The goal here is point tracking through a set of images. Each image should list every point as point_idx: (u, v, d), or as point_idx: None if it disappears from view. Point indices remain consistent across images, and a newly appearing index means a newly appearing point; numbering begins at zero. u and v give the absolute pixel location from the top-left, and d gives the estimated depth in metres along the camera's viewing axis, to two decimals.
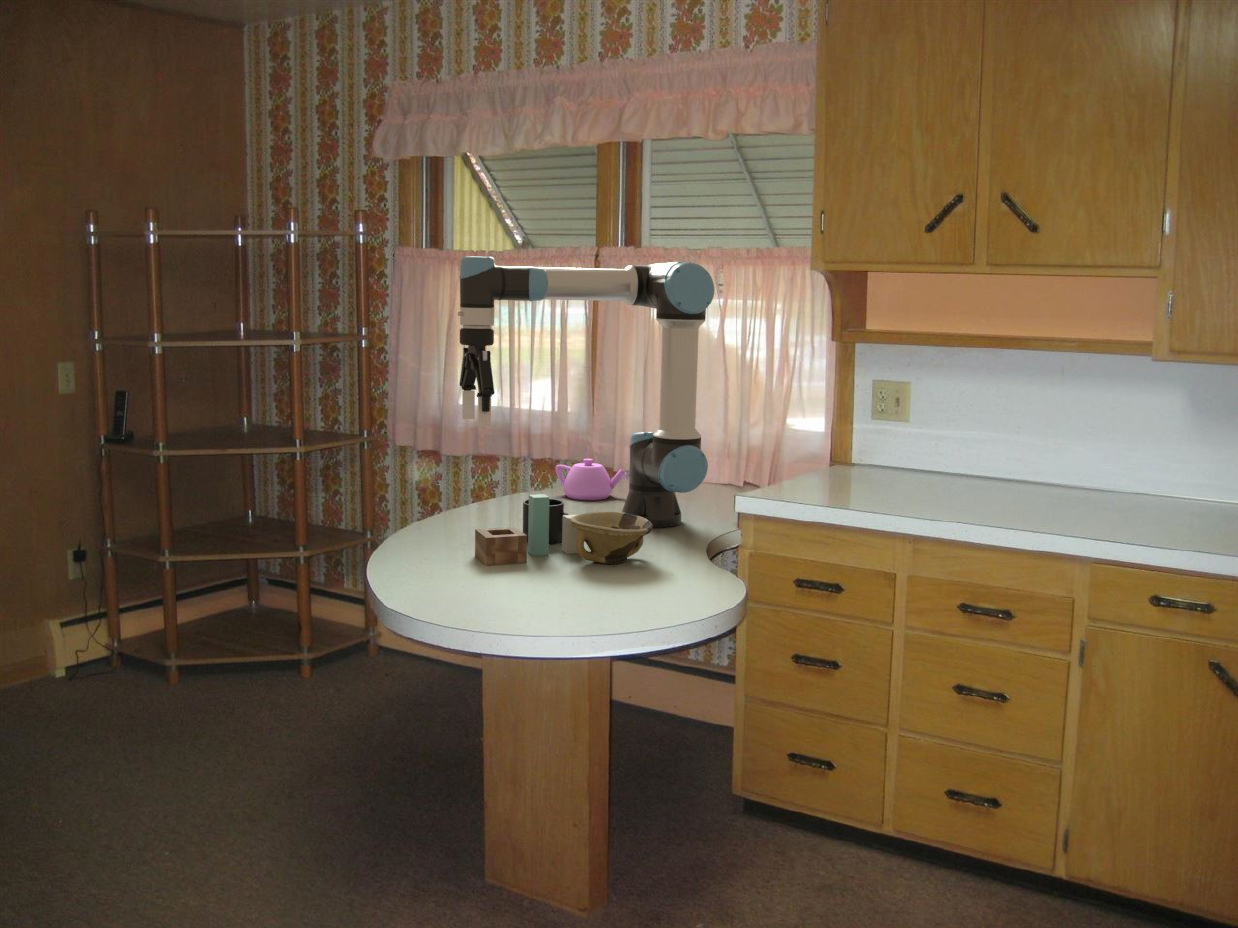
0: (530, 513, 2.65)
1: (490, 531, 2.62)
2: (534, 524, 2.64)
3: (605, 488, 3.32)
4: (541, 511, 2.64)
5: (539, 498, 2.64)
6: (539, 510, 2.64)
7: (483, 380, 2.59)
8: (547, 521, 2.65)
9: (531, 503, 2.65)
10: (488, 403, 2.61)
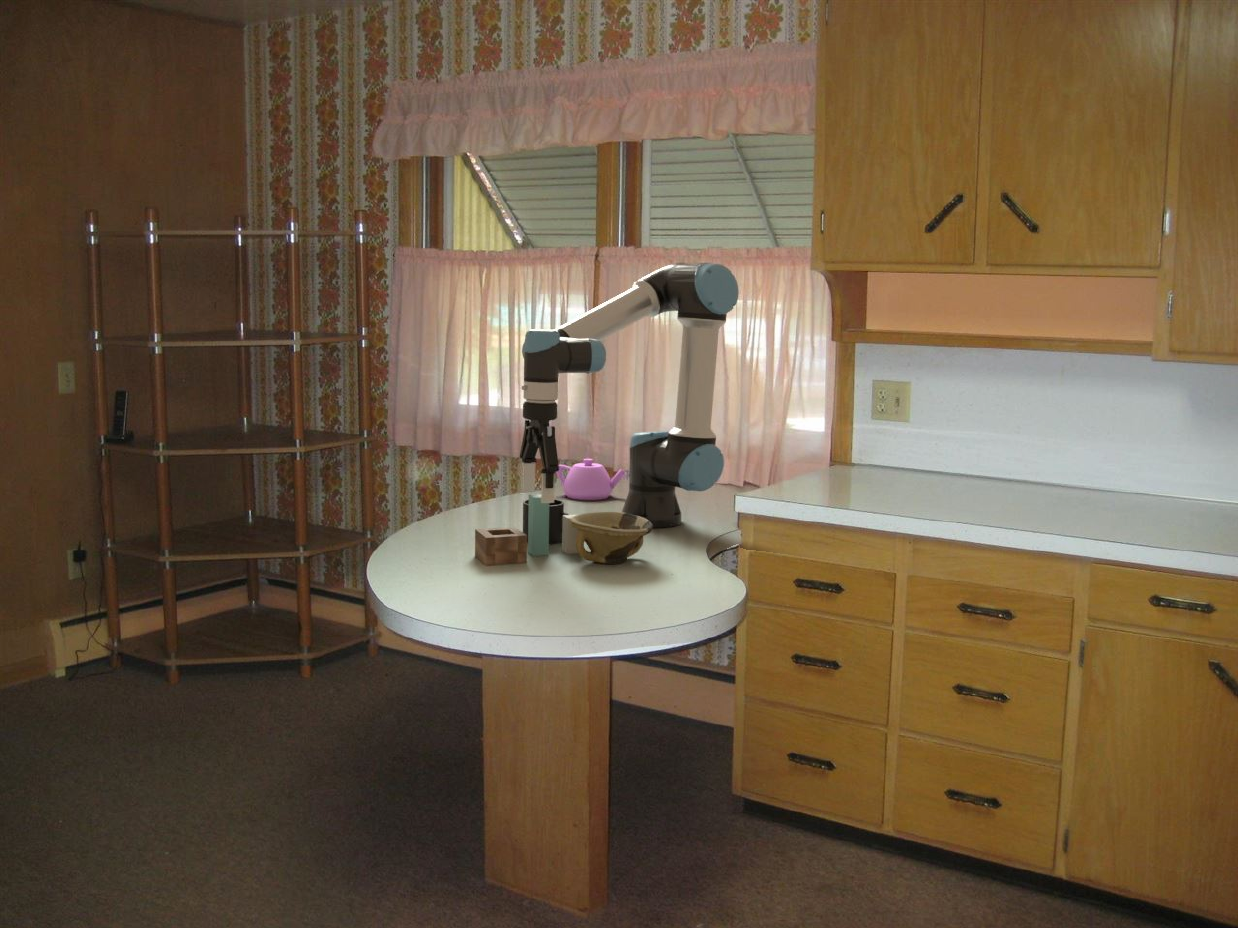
0: (530, 513, 2.65)
1: (490, 531, 2.62)
2: (534, 524, 2.64)
3: (605, 488, 3.32)
4: (541, 511, 2.64)
5: (539, 498, 2.64)
6: (539, 510, 2.64)
7: (548, 456, 2.55)
8: (547, 521, 2.65)
9: (531, 503, 2.65)
10: (552, 479, 2.57)
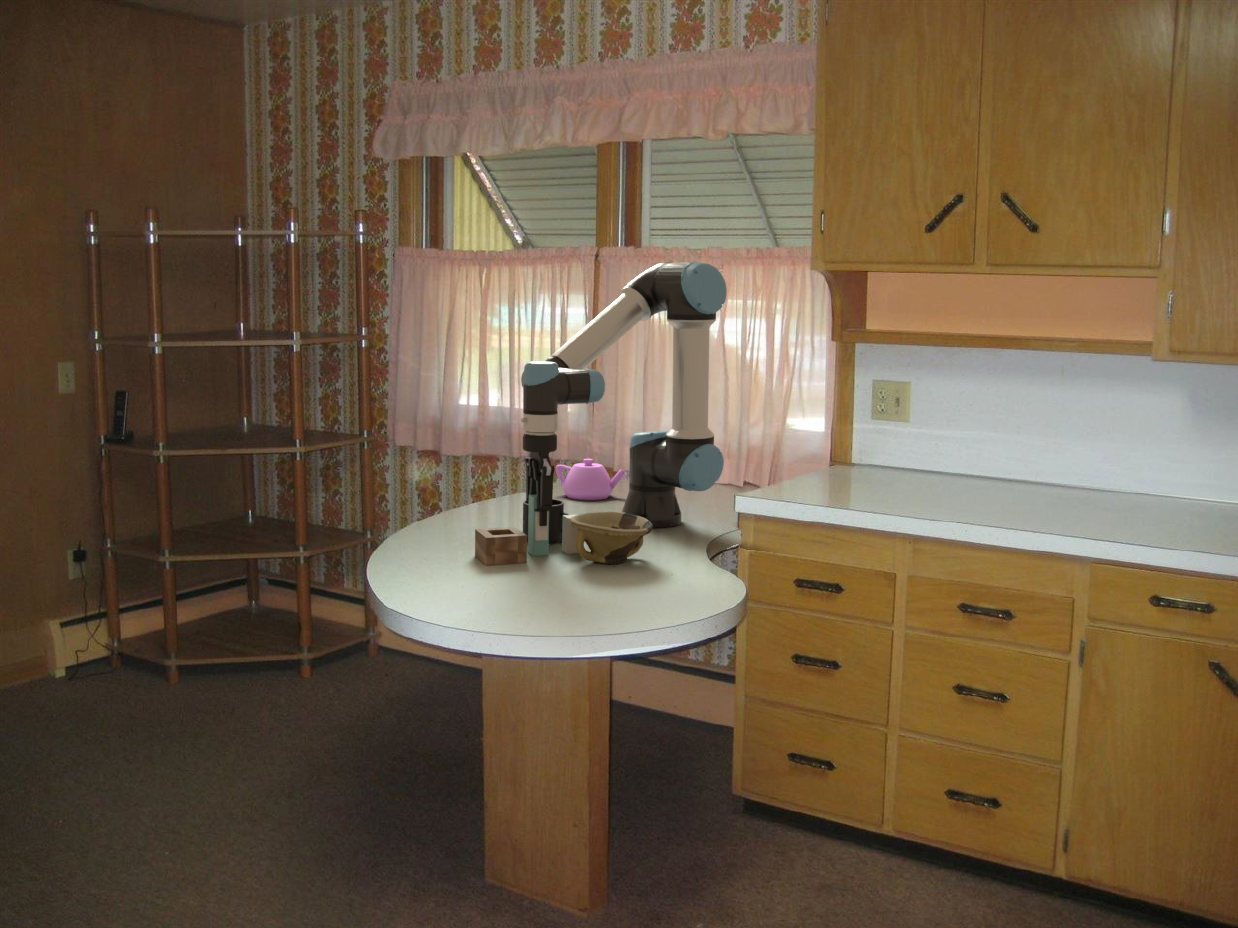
0: (530, 513, 2.65)
1: (490, 531, 2.62)
2: (534, 524, 2.64)
3: (605, 488, 3.32)
4: None
5: None
6: None
7: (543, 497, 2.60)
8: None
9: (531, 503, 2.65)
10: (545, 517, 2.63)
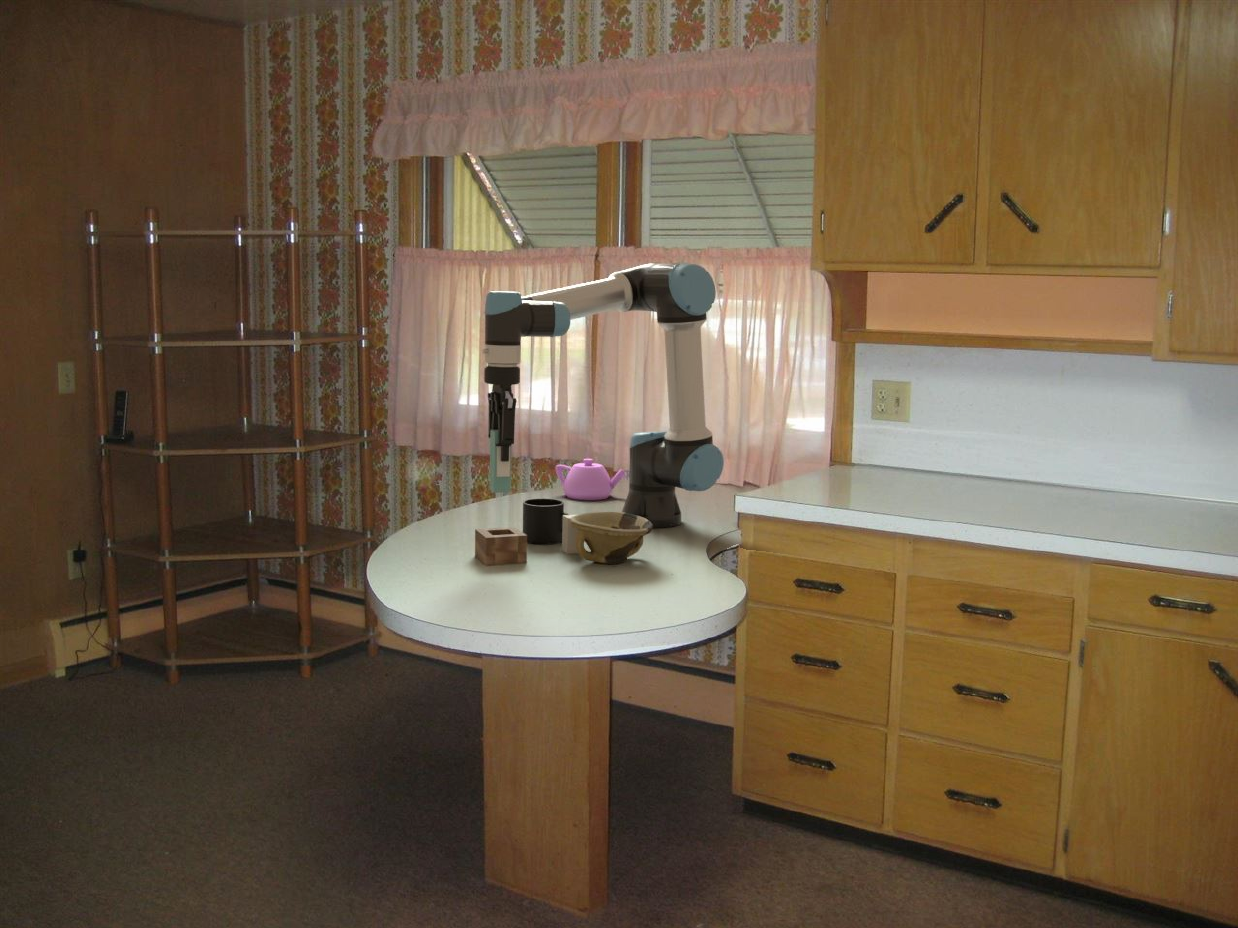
0: (492, 449, 2.57)
1: (490, 531, 2.62)
2: (496, 459, 2.55)
3: (605, 488, 3.32)
4: None
5: None
6: None
7: (504, 430, 2.51)
8: None
9: (492, 438, 2.56)
10: (507, 453, 2.54)
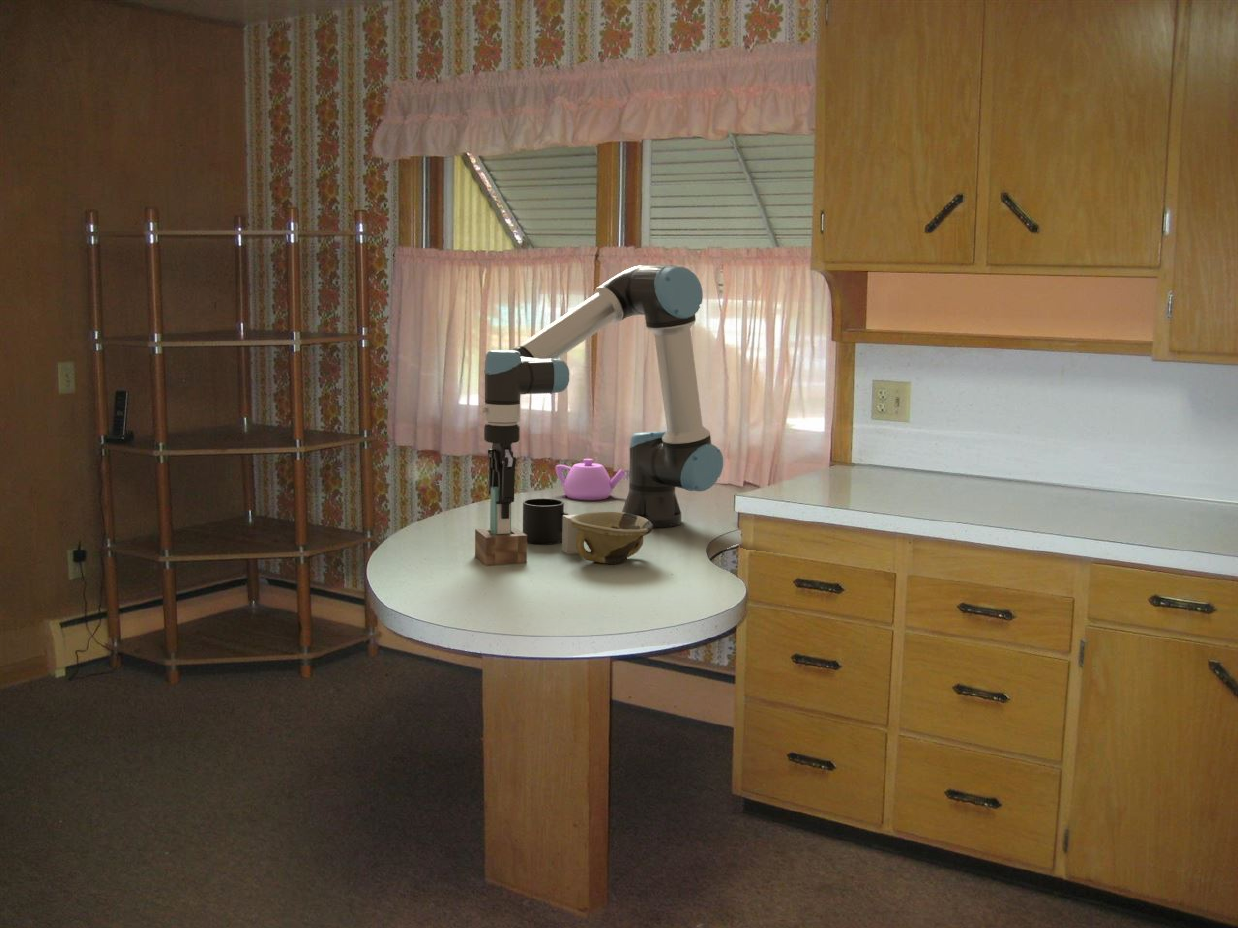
0: (492, 506, 2.59)
1: None
2: (496, 516, 2.57)
3: (605, 488, 3.32)
4: None
5: None
6: None
7: (504, 489, 2.53)
8: None
9: (493, 496, 2.58)
10: (507, 510, 2.56)
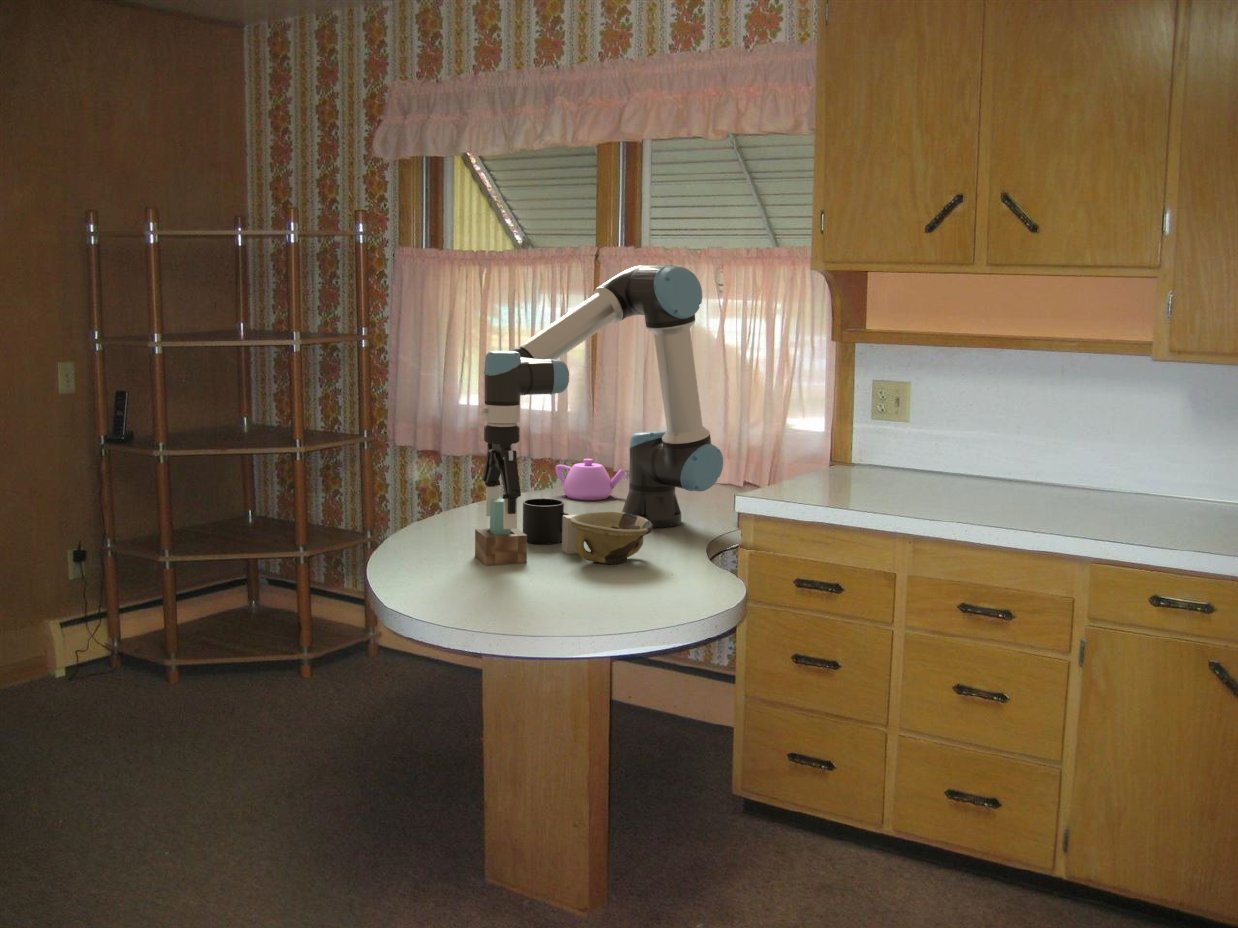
0: (492, 518, 2.59)
1: None
2: (496, 529, 2.58)
3: (605, 488, 3.32)
4: (502, 516, 2.58)
5: (500, 503, 2.57)
6: (500, 515, 2.58)
7: (509, 482, 2.50)
8: None
9: (492, 508, 2.58)
10: (514, 505, 2.52)
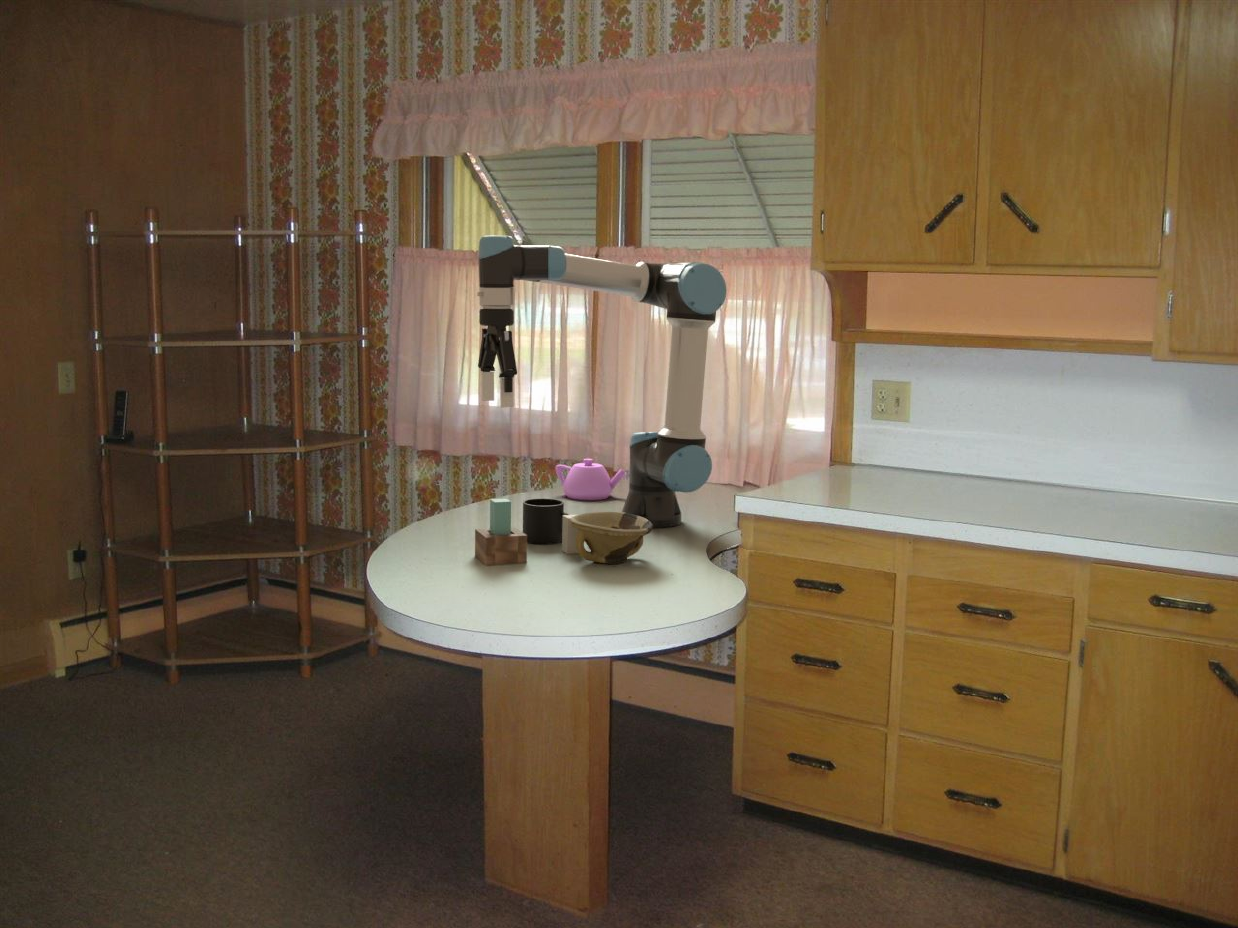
0: (492, 518, 2.59)
1: None
2: (496, 529, 2.58)
3: (605, 488, 3.32)
4: (502, 516, 2.58)
5: (500, 503, 2.57)
6: (500, 515, 2.58)
7: (506, 360, 2.57)
8: (509, 526, 2.59)
9: (492, 508, 2.58)
10: (511, 383, 2.59)
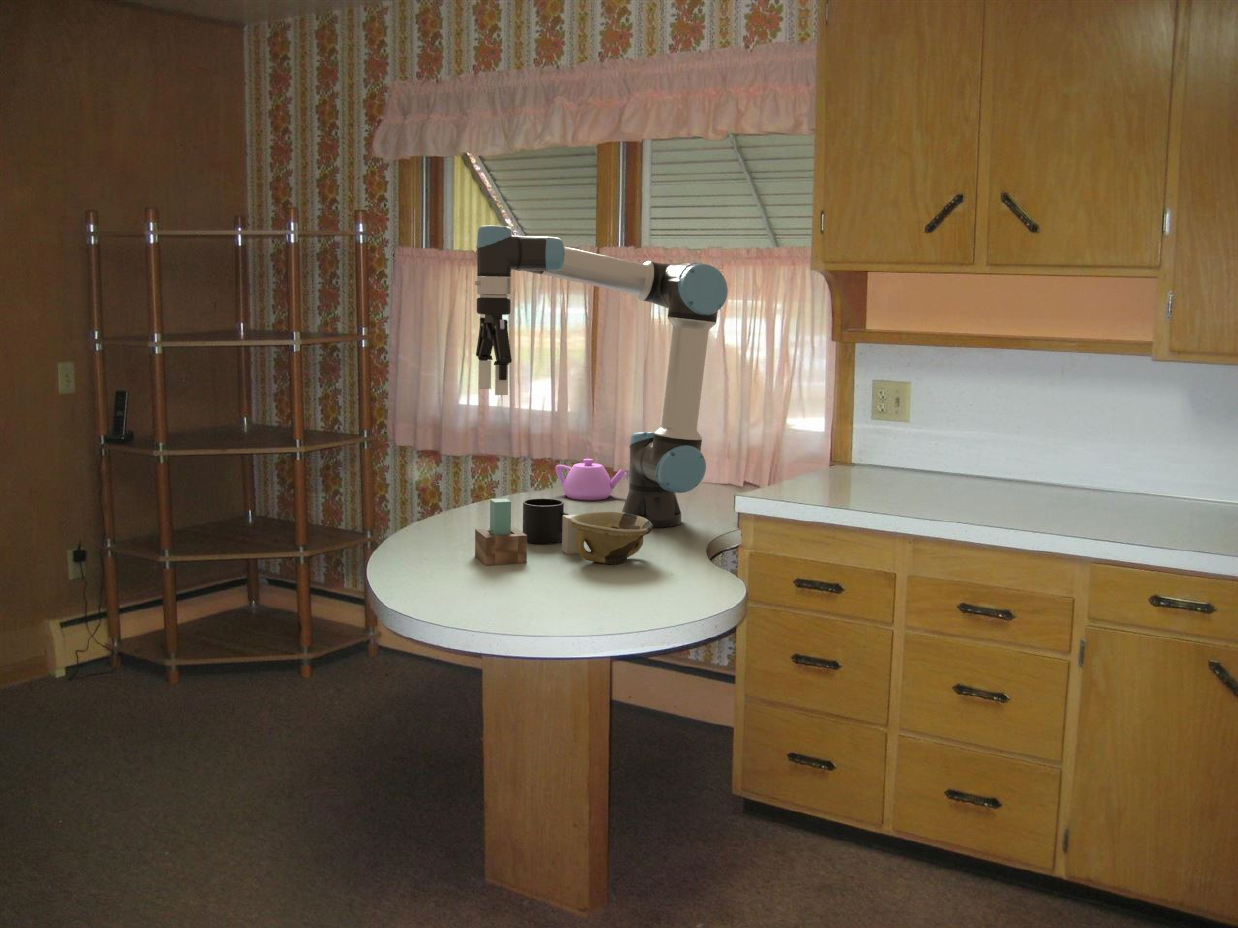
0: (492, 518, 2.59)
1: None
2: (496, 529, 2.58)
3: (605, 488, 3.32)
4: (502, 516, 2.58)
5: (500, 503, 2.57)
6: (500, 515, 2.58)
7: (500, 348, 2.61)
8: (509, 526, 2.59)
9: (492, 508, 2.58)
10: (505, 371, 2.63)
